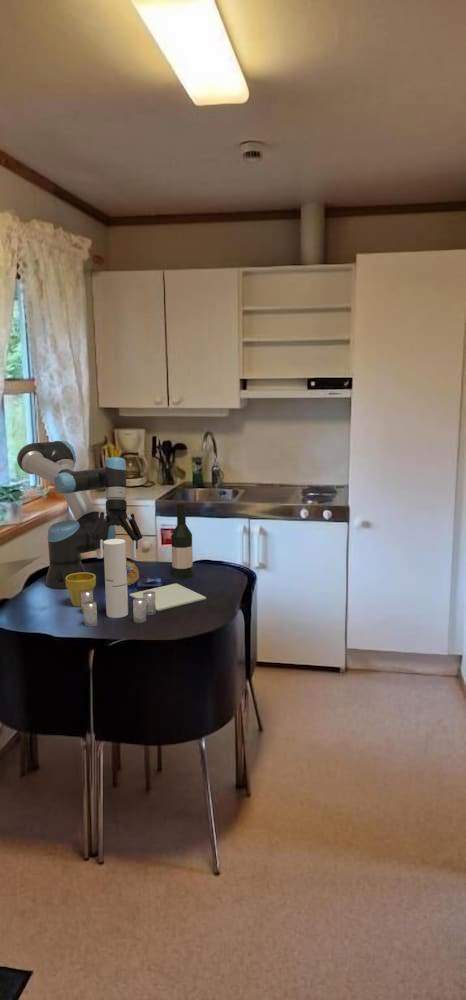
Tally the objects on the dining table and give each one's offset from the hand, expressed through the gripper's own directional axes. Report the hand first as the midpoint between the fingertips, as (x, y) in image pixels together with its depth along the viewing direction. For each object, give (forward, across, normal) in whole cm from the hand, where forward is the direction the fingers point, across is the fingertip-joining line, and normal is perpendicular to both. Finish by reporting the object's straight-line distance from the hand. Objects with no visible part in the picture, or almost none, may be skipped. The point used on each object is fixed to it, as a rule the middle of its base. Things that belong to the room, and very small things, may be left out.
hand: (116, 558), depth 242 cm
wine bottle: (+6, +33, +6) cm, 34 cm away
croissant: (+7, +14, +17) cm, 23 cm away
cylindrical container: (+20, -7, -12) cm, 24 cm away
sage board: (+14, +15, -10) cm, 23 cm away
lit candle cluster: (+20, -8, -13) cm, 25 cm away
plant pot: (+16, -11, +5) cm, 20 cm away
